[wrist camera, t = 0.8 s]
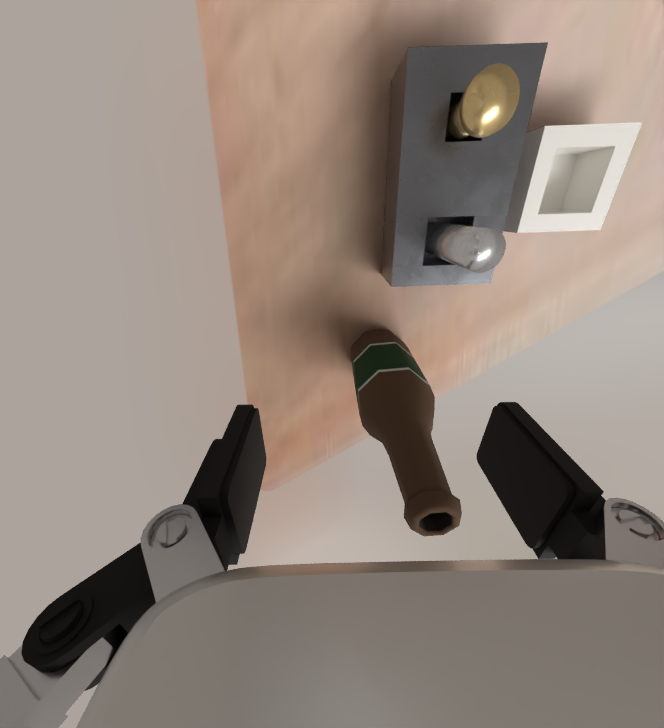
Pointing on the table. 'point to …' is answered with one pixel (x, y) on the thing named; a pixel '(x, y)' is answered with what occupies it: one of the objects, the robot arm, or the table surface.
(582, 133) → the holder
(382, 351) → the beer bottle
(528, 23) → the table surface
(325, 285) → the table surface
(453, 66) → the socket block
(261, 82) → the table surface
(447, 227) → the silver rounded peg
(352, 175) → the table surface
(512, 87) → the key
